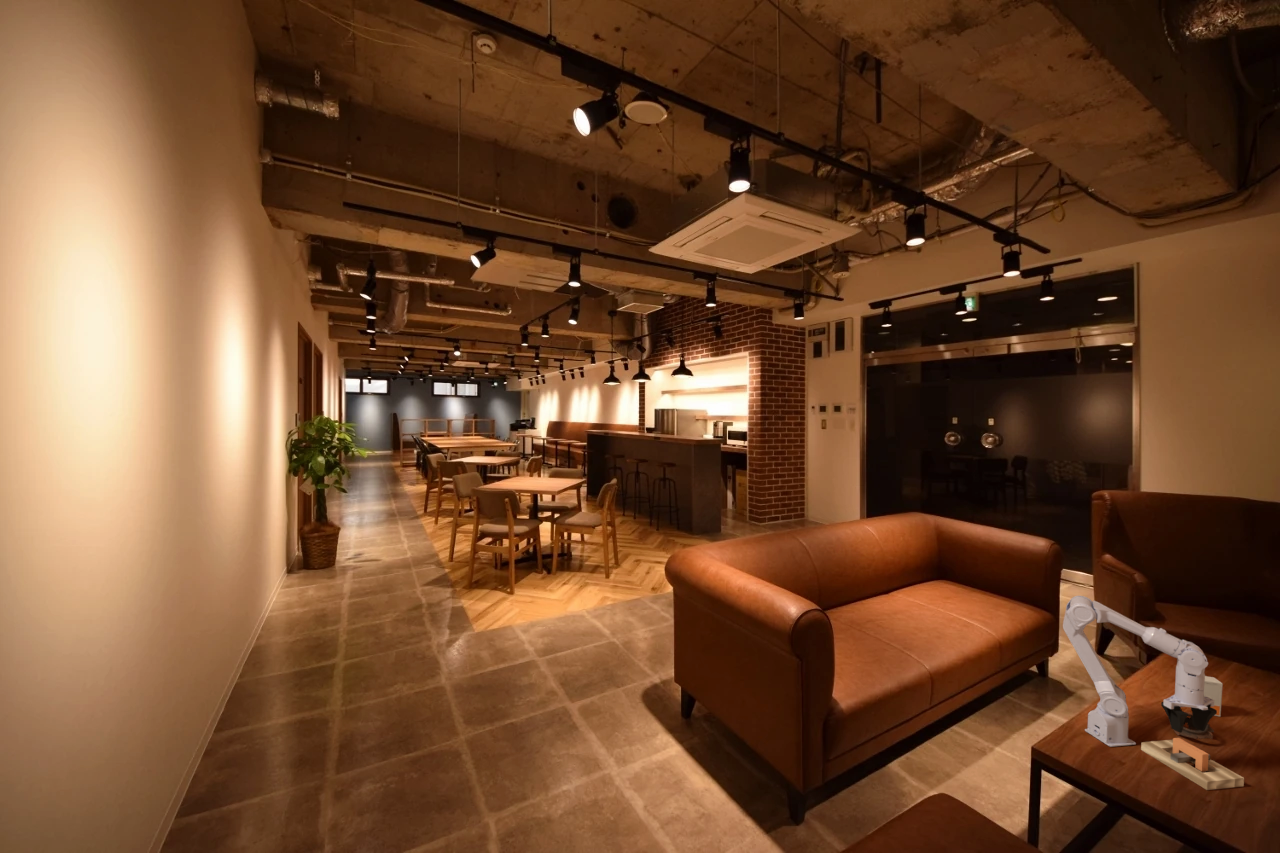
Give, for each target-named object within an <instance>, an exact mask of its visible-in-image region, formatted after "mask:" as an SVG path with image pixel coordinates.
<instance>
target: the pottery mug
mask: <svg viewBox="0 0 1280 853" xmlns="http://www.w3.org/2000/svg"><path fill="white" fill-rule="evenodd" d="M1185 712H1186V713H1187V714H1189V715H1188V716H1187V717H1186V719H1185V721H1184V725H1183V730H1182V732H1181V733H1179V732H1177V731H1175V730H1173V731H1174V733H1175V734H1176V736H1178V737H1179V736H1183V737H1187V738H1190V739H1195V740H1198V739H1200V740H1202V739H1210V740H1213V739H1214V734H1213V733H1215V731H1214V729H1213V727H1211V726H1210V723H1208V724H1207V726H1206V728H1205V730H1204V731H1201V730H1199V729H1197V728H1195V727H1194V725H1193V716H1192V712H1189V711H1185ZM1186 724H1187V727H1188V728H1187V727H1185V725H1186Z"/></svg>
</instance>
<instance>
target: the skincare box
mask: <svg viewBox="0 0 1280 853" xmlns="http://www.w3.org/2000/svg"><path fill="white" fill-rule="evenodd" d="M1223 685H1224V684H1223V682H1222V681H1220V680H1218V679H1217V678H1216V677H1213V676H1207V675H1205V685H1204V697H1208V698H1211V699H1213V700H1214V707H1211V706H1210V707H1211V708H1213V709H1215V710H1216V711H1217V714H1215V715H1214V716H1215V717H1219V718H1220V717H1221V716H1222V715H1221V713H1222V701H1223V700H1222V699H1223V698H1222V697H1223ZM1214 716H1213V717H1214Z"/></svg>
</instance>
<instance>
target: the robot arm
mask: <svg viewBox="0 0 1280 853" xmlns="http://www.w3.org/2000/svg"><path fill="white" fill-rule="evenodd" d="M1095 620H1096V623H1097V624H1101V623H1111V624H1112V625H1114V626H1117V627H1119V628H1121V629H1123V630H1126V631H1128V632H1130V633H1132V634H1134V635H1136V636H1139V637H1141V639H1142V642H1144V644H1146V645H1148V646H1151V647H1152V648H1154V649H1155V650H1158V651H1159V652H1162V653H1163V654H1166V655H1168V656H1170V657H1172V658H1176V659H1177V660H1176V666H1175V685H1174V694H1173V695H1171V696H1169V697H1167V698H1164V699H1163V701H1161V704H1160V706H1161V707H1162V708H1163V711H1164V712H1165V713H1166V716H1167V718H1168V721H1169V723H1170V724H1169V725H1170V728H1171V729H1172V730H1173V731H1174V730H1175V731H1177V732H1179V733H1181V732H1182V730H1183V727H1184V726H1185V725H1184V721H1185V719H1186V717H1189V716H1188V715H1189V714H1187V713H1186V712H1187V711H1184V710H1183V709H1182V708H1190V709H1191V713H1192V716H1193V725H1194V727H1195V728H1197V729H1199V730H1201V731H1204V730H1205V728H1206V726H1207V724H1209V722H1210V721H1211V719H1212V718H1213V717H1214V715H1215V714H1217V711H1216V710H1215V709H1213V708H1211V707H1214V700H1213V699H1211V698H1208V697H1204V685H1205V676H1206V674H1205V671H1206V668H1207V667H1208V665H1209V662H1208V658H1207V657H1206V655H1205V653H1204V651H1203V649H1201V648H1200V646H1198V645H1196V644H1195V643H1194V642H1192V641H1188V640H1186V639H1180V638H1178V637H1176V636H1174V635H1172V634H1169V633H1168V632H1167V630H1165V629H1164V628H1162V627H1160V628H1157V627H1154V626H1150V627H1149V626H1144V625H1142V624H1140V623H1138V622H1136V621H1135V620H1132V619H1131V618H1129V617H1127V616H1126V615H1123V614H1121V613H1120V612H1118V611H1116V610H1113V609H1112V608H1110V607H1108V606H1106V605H1104V604H1102V603H1101V602H1098V601H1096V600H1092V599H1090V598H1089V597H1087V596H1084V595H1076V596H1073V597H1072V598H1070V599H1069V601H1068V602H1067V603H1066V606H1065V611H1064V616H1063V621H1062V629H1063V631H1064V633H1065V635H1066V637H1067V638H1068V639H1069V642H1070V644H1071V645H1072V647H1073V648H1074V651H1075V652H1076V654H1077V656H1078V657H1079V659H1080V660H1081V662H1082V664H1083V666H1084V668H1085V669H1086V671H1087V673H1088V675H1089V677H1090V679H1091V680H1092V682H1093V685H1094V687H1095V689H1096V692H1097V694H1098V696H1099V699H1100V700H1099V701H1098V702H1097V705H1096V708H1094V709H1093V710H1090V711H1089V712H1088V714H1087V728H1085V729H1084V731H1085V733H1088V734H1089V735H1091V736H1092V737H1094V738H1096V740H1099V741H1100V742H1102V743H1104V744H1105V745H1107V746H1108V747H1111V748H1112V747H1121V746H1123V747H1124V746H1133V745H1136V744H1137V743H1136V742H1135V741H1134V740H1132V739H1130V738H1129V715H1130V714H1129V706H1128V704H1127V700H1126V699H1127V696H1126V693H1125V692H1124V690H1123V689H1122V688H1121V687H1119V686H1118V685H1117V684H1116V682H1115V680H1114V679H1113V678H1112V677H1111V676H1110V674H1109V673H1108V671H1107V669H1106V668H1105V666H1104V664H1103V662H1102V661H1101V659H1100V658H1099V656H1098V653H1097V652H1096V650H1095V649H1094V647H1093V644H1092V643H1091V641H1090V640H1089V638H1088V636H1087V634H1086V633H1085V631H1084V630H1085V627H1086V626H1088V625H1089V624H1091V623H1092V622H1094V621H1095ZM1210 706H1211V707H1210ZM1183 725H1184V726H1183Z"/></svg>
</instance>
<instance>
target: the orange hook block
mask: <svg viewBox="0 0 1280 853" xmlns="http://www.w3.org/2000/svg"><path fill="white" fill-rule="evenodd" d="M1172 740H1173V753H1183V752H1184V753H1186V754H1187V755H1189V756H1191V757H1193V758H1194V759H1196V763H1195V764H1194V765H1195V767H1194V768H1196V769H1197V770H1199V771H1201V772H1208V754H1209V753H1207V752H1205V751H1204V750H1202V749H1200V748H1198V747H1197V746H1195V745H1193V744H1191V743H1189V742H1187V741H1186V740H1184V739H1182V738H1181V737H1173V738H1172Z"/></svg>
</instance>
